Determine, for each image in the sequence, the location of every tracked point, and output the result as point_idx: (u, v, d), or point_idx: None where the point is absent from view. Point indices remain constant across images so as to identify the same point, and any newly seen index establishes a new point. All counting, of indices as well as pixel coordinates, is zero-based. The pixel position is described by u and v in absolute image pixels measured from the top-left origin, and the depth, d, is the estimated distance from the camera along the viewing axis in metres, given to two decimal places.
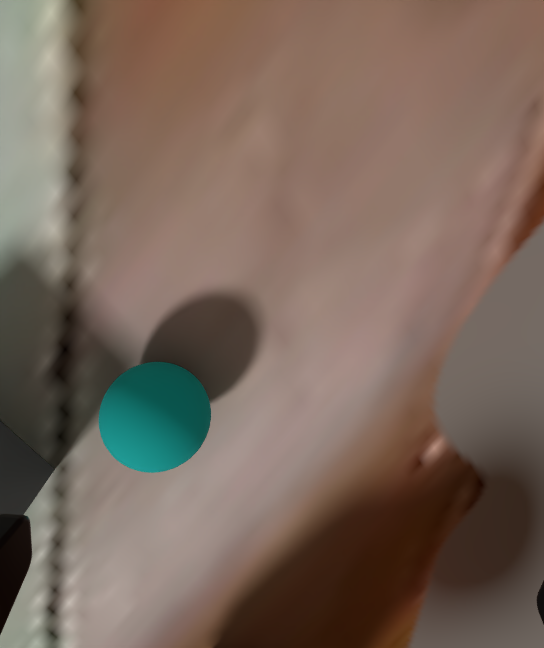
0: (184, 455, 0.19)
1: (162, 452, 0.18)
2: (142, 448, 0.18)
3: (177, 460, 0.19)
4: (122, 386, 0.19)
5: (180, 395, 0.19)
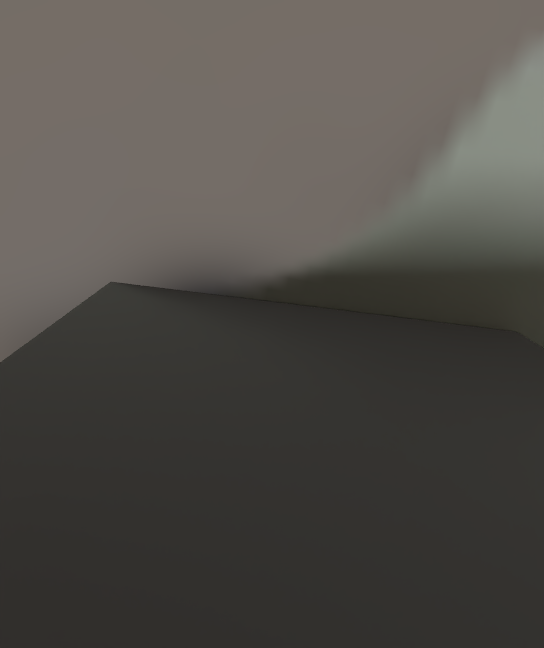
0: None
1: None
2: None
3: None
4: None
5: None
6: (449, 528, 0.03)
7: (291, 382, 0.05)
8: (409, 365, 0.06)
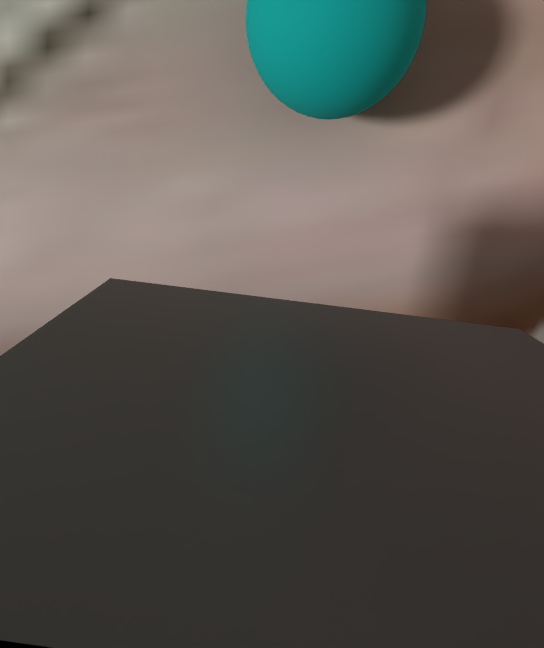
0: (357, 78, 0.11)
1: (360, 29, 0.10)
2: None
3: (345, 74, 0.11)
4: None
5: (425, 0, 0.11)
6: (452, 521, 0.03)
7: (292, 377, 0.05)
8: (410, 361, 0.06)
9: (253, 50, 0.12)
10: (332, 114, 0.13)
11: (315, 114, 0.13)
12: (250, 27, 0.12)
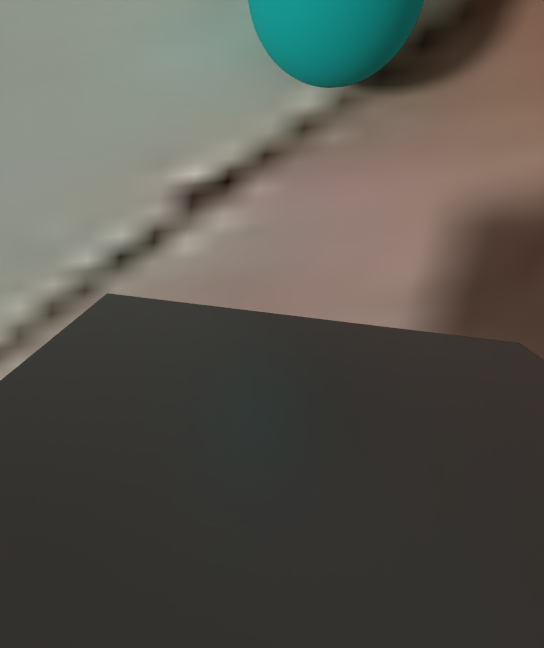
0: None
1: None
2: None
3: None
4: (341, 58, 0.12)
5: None
6: (450, 570, 0.03)
7: (289, 404, 0.05)
8: (409, 383, 0.06)
9: None
10: None
11: None
12: None
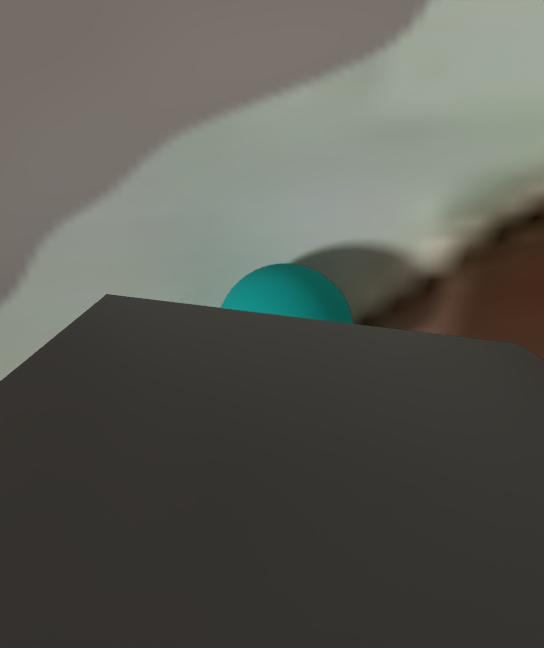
0: None
1: None
2: None
3: None
4: None
5: None
6: (451, 574, 0.03)
7: (289, 406, 0.05)
8: (410, 384, 0.06)
9: None
10: None
11: None
12: None
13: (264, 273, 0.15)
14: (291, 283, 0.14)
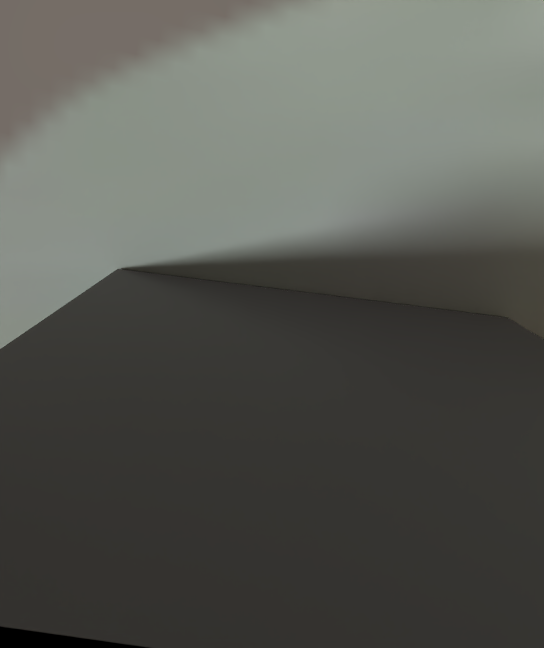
0: None
1: None
2: None
3: None
4: None
5: None
6: (431, 473, 0.04)
7: (290, 356, 0.05)
8: (401, 344, 0.06)
9: None
10: None
11: None
12: None
13: None
14: None
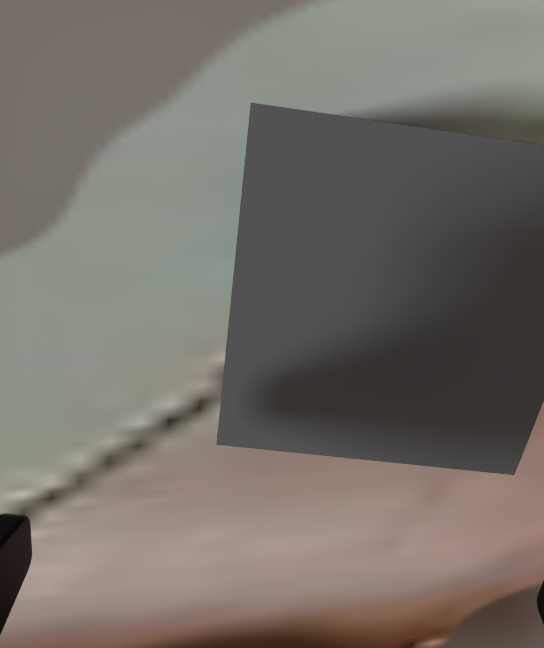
0: None
1: None
2: None
3: None
4: None
5: None
6: None
7: None
8: None
9: None
10: None
11: None
12: None
13: None
14: None
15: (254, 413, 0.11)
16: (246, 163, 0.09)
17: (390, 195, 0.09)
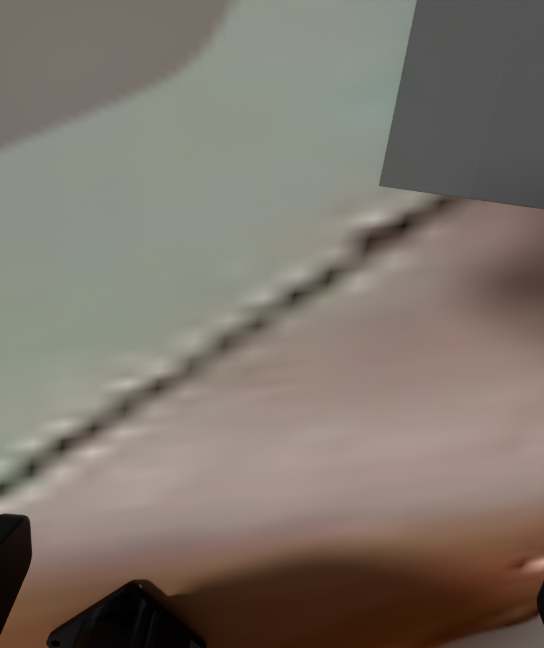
0: None
1: None
2: None
3: None
4: None
5: None
6: None
7: None
8: None
9: None
10: None
11: None
12: None
13: None
14: None
15: (519, 154, 0.09)
16: None
17: None
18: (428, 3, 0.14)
